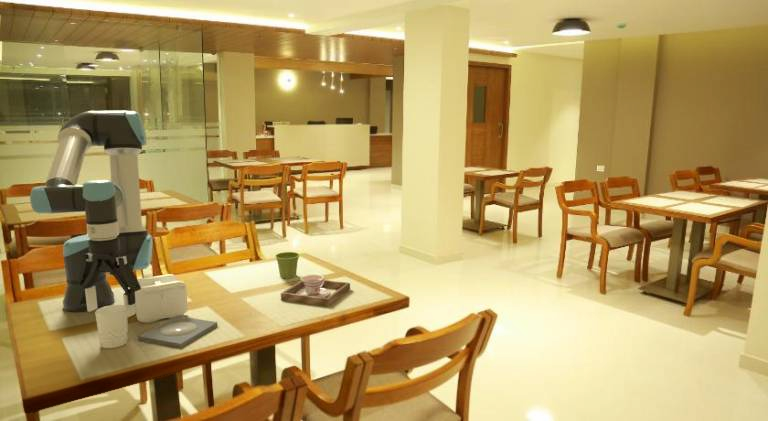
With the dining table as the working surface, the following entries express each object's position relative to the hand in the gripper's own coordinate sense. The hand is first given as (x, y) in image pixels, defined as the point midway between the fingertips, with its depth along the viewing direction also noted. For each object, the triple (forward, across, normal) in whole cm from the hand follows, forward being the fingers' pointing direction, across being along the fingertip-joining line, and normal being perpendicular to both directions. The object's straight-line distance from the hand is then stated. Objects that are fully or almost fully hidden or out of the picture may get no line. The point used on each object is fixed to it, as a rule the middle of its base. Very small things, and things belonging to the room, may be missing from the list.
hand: (111, 312), depth 148 cm
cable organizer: (+9, -3, +21) cm, 24 cm away
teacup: (+9, +33, +55) cm, 65 cm away
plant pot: (+9, +15, +70) cm, 72 cm away
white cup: (+9, 0, 0) cm, 9 cm away
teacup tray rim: (+9, +35, +55) cm, 66 cm away
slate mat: (+9, +12, +12) cm, 19 cm away
